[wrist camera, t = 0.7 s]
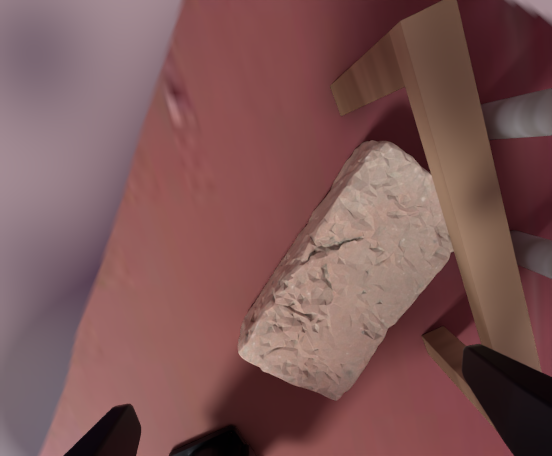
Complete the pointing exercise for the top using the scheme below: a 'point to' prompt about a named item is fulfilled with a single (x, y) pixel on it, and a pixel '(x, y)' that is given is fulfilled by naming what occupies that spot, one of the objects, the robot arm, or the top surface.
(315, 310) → the brick
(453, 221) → the shelf frame
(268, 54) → the top surface
